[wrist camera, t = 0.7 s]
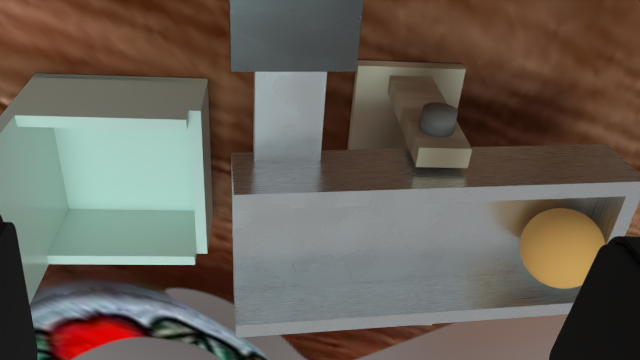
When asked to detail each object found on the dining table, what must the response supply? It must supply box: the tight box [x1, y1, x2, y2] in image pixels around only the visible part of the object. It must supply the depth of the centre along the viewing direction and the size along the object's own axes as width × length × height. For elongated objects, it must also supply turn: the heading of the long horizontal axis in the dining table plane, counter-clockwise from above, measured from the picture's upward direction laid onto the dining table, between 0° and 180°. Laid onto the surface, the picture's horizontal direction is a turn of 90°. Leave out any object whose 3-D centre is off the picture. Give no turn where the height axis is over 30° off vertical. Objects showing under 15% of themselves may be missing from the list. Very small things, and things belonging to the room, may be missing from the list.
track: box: [229, 0, 640, 338], centre depth 29 cm, size 19×18×6 cm
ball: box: [520, 208, 605, 289], centre depth 30 cm, size 4×4×4 cm
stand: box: [347, 60, 472, 325], centre depth 34 cm, size 6×13×9 cm, turn 177°
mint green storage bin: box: [0, 73, 213, 305], centre depth 32 cm, size 9×9×9 cm
